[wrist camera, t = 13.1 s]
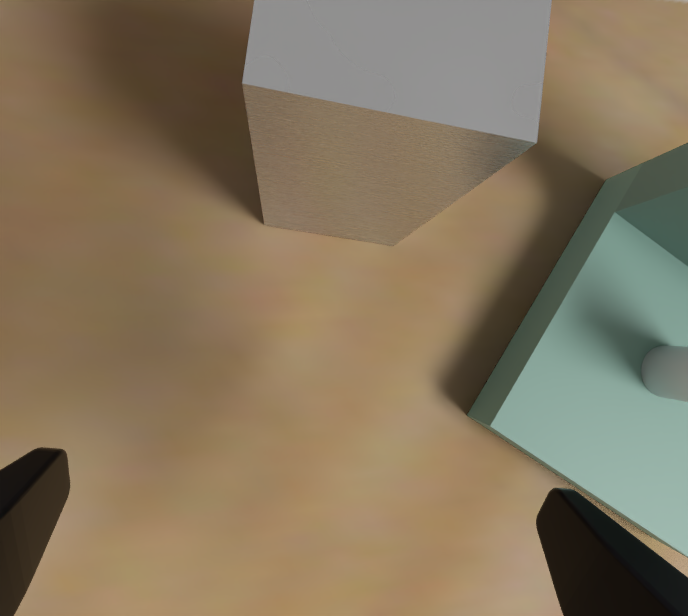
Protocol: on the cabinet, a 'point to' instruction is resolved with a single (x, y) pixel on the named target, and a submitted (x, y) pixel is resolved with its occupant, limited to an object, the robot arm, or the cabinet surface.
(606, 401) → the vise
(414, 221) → the gray upright column
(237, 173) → the cabinet surface
